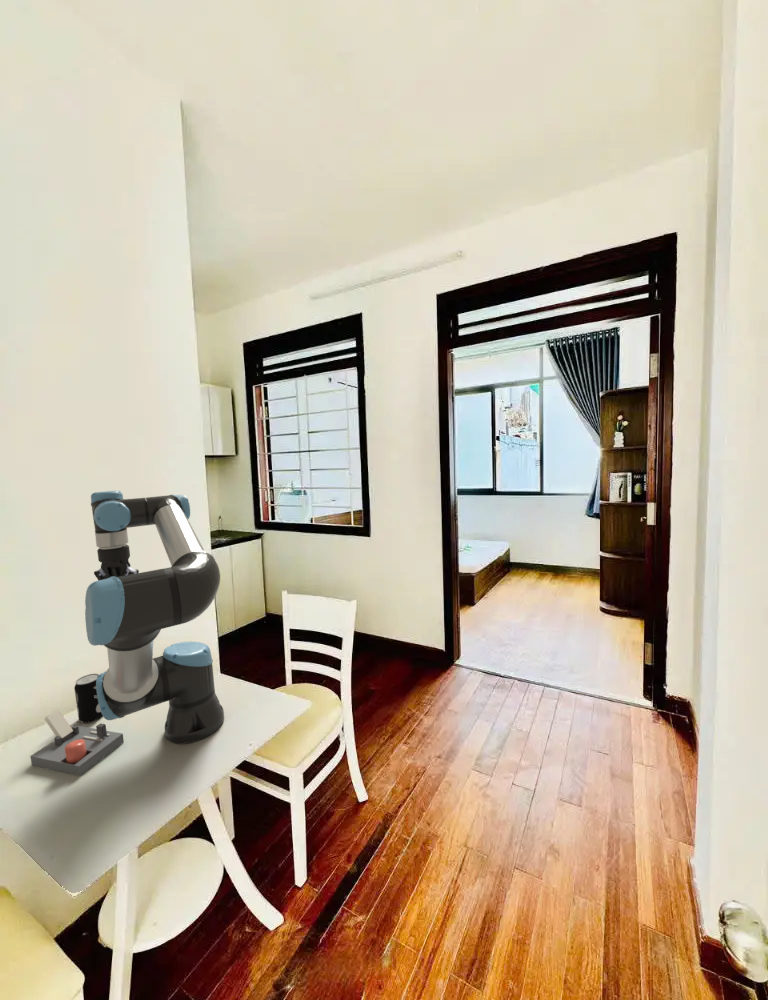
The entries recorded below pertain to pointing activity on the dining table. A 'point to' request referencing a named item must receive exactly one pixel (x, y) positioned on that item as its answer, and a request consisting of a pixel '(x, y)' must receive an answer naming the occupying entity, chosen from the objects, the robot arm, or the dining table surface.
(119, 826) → the dining table surface
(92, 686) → the beverage can
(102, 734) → the slider
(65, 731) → the toggle
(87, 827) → the dining table surface
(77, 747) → the button
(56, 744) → the panel
